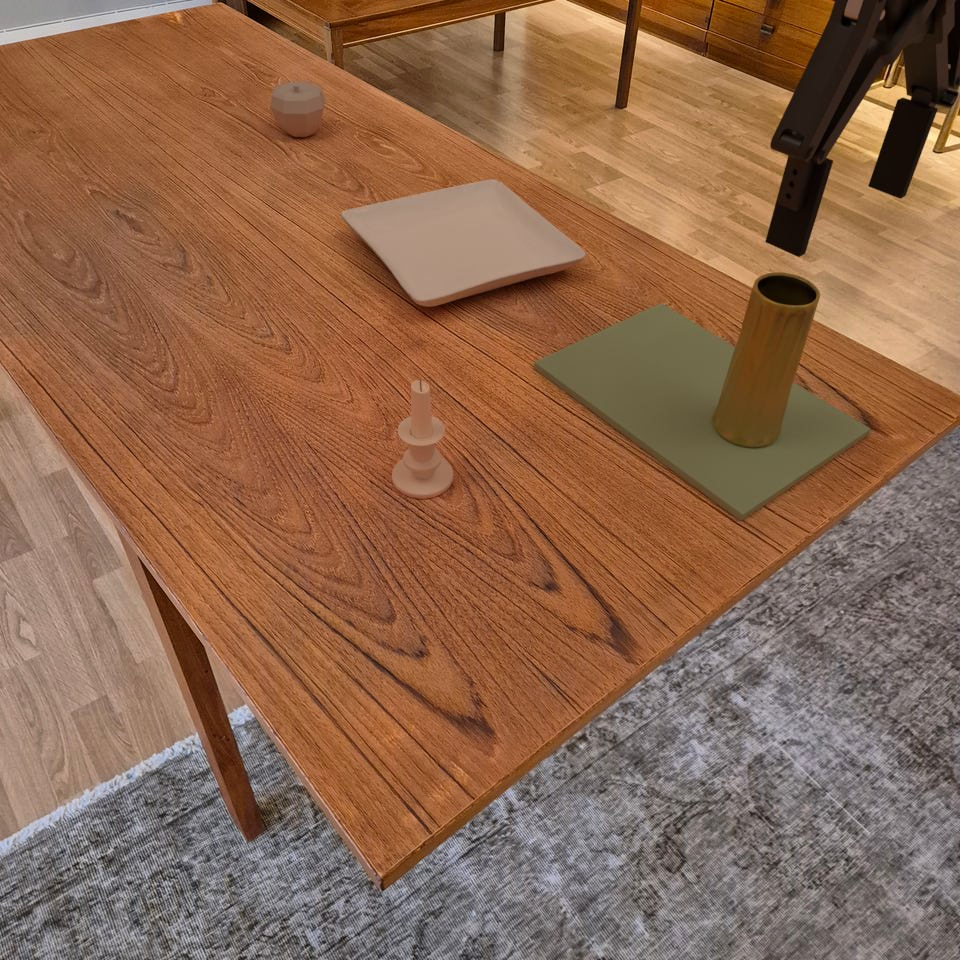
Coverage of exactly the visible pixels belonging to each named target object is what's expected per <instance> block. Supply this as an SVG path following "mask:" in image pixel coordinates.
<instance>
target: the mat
mask: <svg viewBox="0 0 960 960" xmlns="http://www.w3.org/2000/svg"><path fill="white" fill-rule="evenodd" d="M735 347H736V346H734V345H733V344H731V343H730V342H728V341H726V340H724V339H722V338H721V337H719V336H718V335H716V334H714V333H713V332H711V331H710V330H708V329H706V328H705V327H703V326H701V325H699V324H698V323H696V322H694V321H693V320H691V319H689V318H687V317H686V316H684V315H683V314H681V313H680V312H678V311H676V310H675V309H673V308H671V307H669V306H668V305H667V304H665V303H663V302H659V303H657V304H654V305H653V306H651V307H648V308H646V309H644V310H642V311H639V312H638V313H635V314H634V315H633V314H632V315H631V316H629V317H627V318H625V319H624V320H621V321H618V322H616V323H614V324H612V325H610V326H607V327H605V328H603V329H602V330H600V331H597V332H595V333H593V334H591V335H589V336H586V337H585V338H582V339H579V340H578V341H576V342H574V343H572V344H569V345H567V346H566V347H562V348H561V349H559V350H557V351H554V352H552V353H549V354H548V355H546V356H544V357H542V358H540V359H538V360H535V361H534V362H533V369H534V370H535V371H536V372H538V373H540V375H542V376H543V377H545V379H547V380H549V381H550V382H551V383H553V385H556V386H557V387H558V388H559V389H561V390H562V391H564V392H565V393H566V394H567V395H569V396H570V397H572V398H573V399H574V400H575V401H577V402H579V404H581V405H583V407H585V408H586V409H588V410H589V411H591V412H592V413H593V414H594V415H596V416H598V418H600V419H601V420H603V421H604V422H605V423H607V424H608V425H610V426H611V427H612V428H614V429H615V430H617V431H618V432H619V433H621V434H622V435H623V436H624V437H626V438H627V439H629V440H630V441H632V442H633V443H634V444H636V445H637V447H640V448H641V449H642V450H644V451H645V452H646V453H648V454H649V455H650V456H651V457H653V458H655V459H656V460H657V461H658V462H660V463H661V464H662V465H664V466H665V467H666V468H667V469H670V471H672V472H673V473H675V474H676V475H678V476H679V477H680V478H682V479H683V480H684V481H685V482H687V483H688V484H690V485H691V486H692V487H693V488H695V489H696V490H698V491H699V492H701V493H702V494H703V495H705V496H706V497H707V498H709V499H710V500H711V501H712V502H714V503H715V504H717V505H718V506H720V507H721V509H723V510H725V511H726V512H728V513H729V514H730V515H732V516H733V517H734V518H736V520H738V521H740V522H742V521H744V520H745V519H746V518H747V517H749V516H751V515H752V514H754V513H755V512H757V511H758V510H760V509H761V508H763V507H764V506H765V505H767V504H769V503H770V502H771V501H773V500H774V499H776V498H777V497H779V496H780V495H782V494H783V493H785V492H786V491H788V490H789V489H791V488H792V487H794V486H795V485H797V484H798V483H800V482H801V481H803V480H804V479H805V478H807V477H809V476H810V475H812V474H813V473H815V472H816V471H817V470H819V469H820V468H822V467H824V466H825V465H826V464H828V463H830V462H831V461H832V460H834V459H836V457H838V456H840V455H841V454H843V453H845V451H847V450H848V449H850V448H851V447H853V446H855V445H856V444H857V443H859V442H860V441H862V440H863V439H865V438H866V437H868V436H869V434H870V432H871V430H872V428H870V427H869V426H868V425H865V424H864V423H862V422H860V421H859V420H857V419H855V418H854V417H852V416H850V415H849V414H848V413H846V412H844V411H842V410H841V409H839V408H837V407H835V406H834V405H833V404H831V403H829V402H827V401H825V400H824V399H822V398H821V397H819V396H817V395H816V394H814V393H812V392H811V391H809V390H807V389H806V388H804V387H802V386H801V385H799V384H798V383H796V382H794V381H793V384H792V388H791V391H790V395H789V399H788V403H787V407H786V411H785V415H784V418H783V421H782V426H781V433H780V436H779V437H778V439H777V440H776V441H774V442H773V443H771V444H769V445H766V446H763V447H745V446H740V445H736V444H734V443H732V442H729V441H728V440H726V439H724V438H723V437H722V436H721V435H719V433H718V432H717V431H716V429H715V428H714V426H713V423H712V416H713V414H714V412H715V410H716V408H717V405H718V402H719V398H720V395H721V392H722V388H723V385H724V381H725V378H726V375H727V372H728V369H729V365H730V362H731V359H732V356H733V353H734V350H735Z"/></svg>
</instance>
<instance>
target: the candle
mask: <svg viewBox="0 0 960 960" xmlns="http://www.w3.org/2000/svg"><path fill="white" fill-rule="evenodd" d="M445 434H446V427H445V424H444V422H443V421H442V420H440V419H439V418H438V417H435V416H433V415H432V398H431V388H430V385H429V383H428V382H426V381H424V380H421V379H420V380H419V379H418V380H417V379H416V380H414V381H412V382H411V384H410V416H408V417H406V418H404V419H403V420H401V422H400V423H399V424H398V426H397V435H398V437H399V439H400V440H401V441H402V442H404V443H405V444H407V447H408V448H407V449H406V450H405V451H404V453H403V455H402V458H401V459H400V460H398V462H397V463H395V464H394V466H393V469H392V471H391V481H392V485H393V486H394V487H395V489H396V490H397V491H398V492H400V493H401V494H402V495H405V496H407V497H408V498H412V499H424V500H426V499H430V498H435V497H438V496H440V495H442V494H443V493H445V492H447V491H448V490H449V488H451V486H452V483H453V482H454V470H453V467H452V465H451V464H450V462H448V461H447V460H446V459H445V458H443V457H442V453H441V452H440V450H439V449H438V448H436V444H437V443H438V442H441V440H442V439H443V438H444V437H445Z"/></svg>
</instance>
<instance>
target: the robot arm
mask: <svg viewBox="0 0 960 960" xmlns="http://www.w3.org/2000/svg"><path fill="white" fill-rule="evenodd" d="M901 53H902V54H903V55H902V56H903V69H904V79H905V92H906V96H908V97H910V99H909V98H906V97H900V98H898V99H897V100H896V103H895V106H894V109H893V112H892V114H891V118H890V120H889V124H888V127H887V130H886V132H885V135H884V139H883V141H882V144H881V146H880V150H879V153H878V155H877V159H876V162H875V165H874V168H873V171H872V173H871V177H870V180H869V182H868V186H867V187H869V188H871V189H874V190H877V191H879V192H882V193H884V194H887V195H890V196H893V197H895V198H897V199H900V200H901V199H903V198H905V197H906V196H907V193H908V191H909V188H910V185H911V182H912V180H913V177H914V174H915V171H916V169H917V166H918V164H919V161H920V158H921V155H922V153H923V150H924V148H925V145H926V142H927V140H928V136H929V134H930V131H931V129H932V126H933V123H934V122H935V118H936V115H937V113H938V110H939V108H937V107H936V106H940V107H943V108H947V109H951V108H953V106H954V105H955V103H956V102H957V100H958V97H959V91H956V90H957V89H958V88H960V0H834V3H833V6H832V9H831V13H830V16H829V19H828V21H827V23H826V25H825V27H824V29H823V31H822V34H821V35H820V37H819V40H818V42H817V43H816V46H815V48H814V50H813V52H812V54H811V56H810V58H809V59H808V62H807V65H806V67H805V69H804V71H803V73H802V75H801V77H800V79H799V81H798V83H797V86H796V87H795V90H794V92H793V94H792V96H791V97H790V100H789V102H788V104H787V106H786V109H785V111H784V113H783V115H782V117H781V118H780V121H779V123H778V125H777V127H776V129H775V131H774V132H773V133H774V134H773V136H772V138H771V141H770V149H771V151H772V150H773V151H775V152H777V153H781V154H783V155H785V156H787V159H786V160H787V161H786V163H785V167H784V171H783V174H782V178H781V182H780V185H779V189H778V194H777V196H776V201H775V204H774V208H773V212H772V214H771V219H770V222H769V227H768V230H767V234H766V238H765V241H764V242H765V243H766V244H769V245H771V246H773V247H774V248H777V249H780V250H782V251H784V252H786V253H788V254H791V255H793V256H795V257H797V258H800V257H802V256H804V255H805V254H806V252H807V248H808V246H809V242H810V239H811V236H812V233H813V229H814V226H815V223H816V219H817V216H818V213H819V210H820V206H821V202H822V199H823V196H824V193H825V190H826V186H827V183H828V180H829V177H830V173H831V170H832V167H833V164H834V160H833V159H831V158H828V156H829V154H830V152H831V151H832V150H833V148H834V146H835V144H836V143H837V141H838V139H839V138H840V136H841V135H842V133H843V132H844V130H845V129H846V128H847V126H848V124H849V122H850V120H851V119H852V117H853V116H854V114H855V113H856V112H857V109H858V108H859V106H860V104H862V101H863V100H864V98H865V96H866V95H867V93H868V92H869V90H870V89H871V88H872V86H873V84H874V82H875V81H876V79H877V77H878V76H879V74H880V73H881V71H882V69H884V67H886V66H887V67H888V66H890V65H893V63H895V62H896V61H897V60H898V58H899V57H900V55H901ZM949 65H950V67H949Z"/></svg>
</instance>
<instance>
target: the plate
mask: <svg viewBox="0 0 960 960" xmlns="http://www.w3.org/2000/svg"><path fill="white" fill-rule="evenodd" d="M340 217H341V219H342V220H343V221H344V223H345V224H346V226H348V228H349V229H350V230H351V231H352V232H354V233H355V235H356V236H358V238H360V239H361V241H363V243H365V245H366V246H368V248H369V249H370V250H371V251H372V252H373V253H374V254H375V255H376V256H377V258H379V259H380V261H381V262H382V263H383V264H384V265H385V266H386V268H387V269H388V270H389V271H390V273H391V274H392V275H393V277H394V278H395V280H396V282H398V284H399V285H400V286H401V287H402V289H403V290H404V292H405V293H406V294H407V295H408V296H409V298H410V299H411V300H412V301H413V302H414V303H415V304H416V305H418V306H421V307H426V308H427V307H428V308H429V307H437V306H441V305H444V304H448V303H451V302H454V301H457V300H461V299H465V298H468V297H472V296H475V295H480V294H484V293H487V292H491V291H494V290H498V289H501V288H504V287H508V286H510V285H514V284H517V283H521V282H525V281H528V280H531V279H534V278H538V277H543V276H546V275H552V274H555V273H558V272H561V271H563V270H568V269H570V268H572V267H574V266H576V265H578V264H580V262H582V261H583V260H584V259H585V258H586V256H587V253H586V252H585V251H584V249H582V247H580V246H579V245H578V244H577V243H576V242H574V240H572V239H570V238H569V237H568V236H567V235H566V234H565V233H563V232H562V231H561V230H560V229H558V228H557V226H555V225H554V224H553V223H551V222H550V221H549V220H548V219H546V218H545V217H544V216H543V215H541V214H540V213H539V212H538V211H536V209H534V208H533V207H532V206H530V204H528V203H527V202H526V201H524V199H522V198H521V197H520V196H519V195H518V194H517V193H515V192H514V191H513V190H512V189H510V188H509V187H508V186H507V185H505V184H504V183H502V182H501V181H499V180H498V179H493V178H490V179H485V180H478V181H473V182H469V183H464V184H458V185H454V186H449V187H445V188H439V189H435V190H430V191H425V192H421V193H417V194H411V195H407V196H401V197H398V198H393V199H389V200H388V199H387V200H384V201H380V202H375V203H371V204H367V205H363V206H358V207H353V208H349V209H345V210H343V211H341V213H340Z"/></svg>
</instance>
